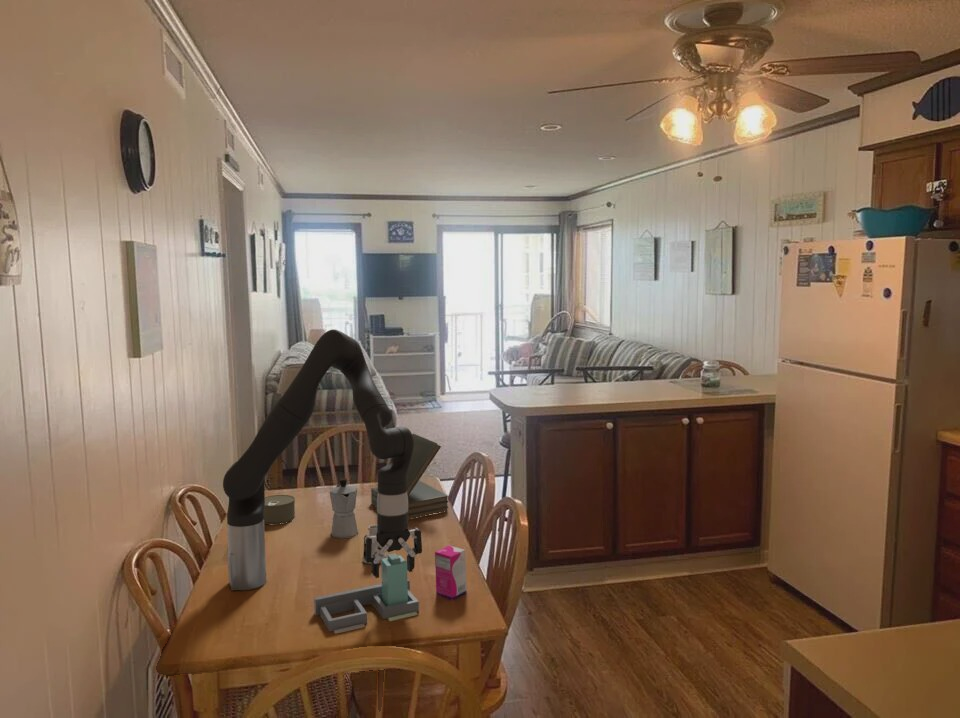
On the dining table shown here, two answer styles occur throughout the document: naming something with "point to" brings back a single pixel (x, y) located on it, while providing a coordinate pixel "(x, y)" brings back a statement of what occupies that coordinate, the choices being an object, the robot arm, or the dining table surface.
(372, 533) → the flask
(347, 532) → the coffee maker
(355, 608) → the socket panel
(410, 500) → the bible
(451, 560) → the supplement box
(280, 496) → the can
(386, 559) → the plug
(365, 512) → the dining table surface
